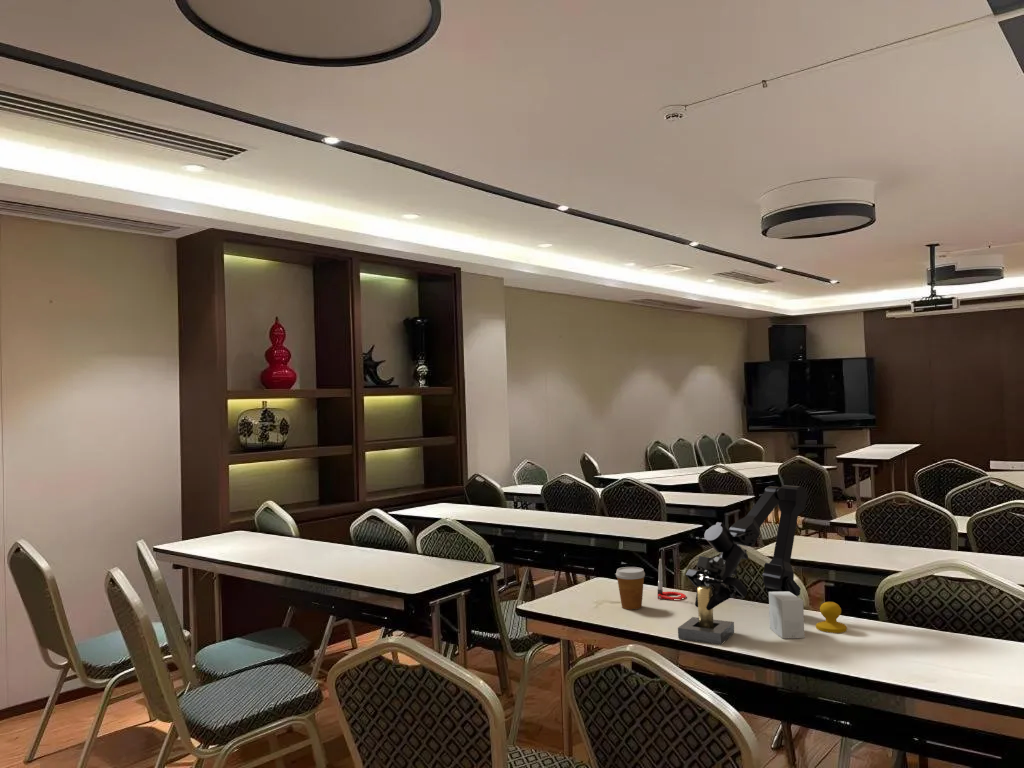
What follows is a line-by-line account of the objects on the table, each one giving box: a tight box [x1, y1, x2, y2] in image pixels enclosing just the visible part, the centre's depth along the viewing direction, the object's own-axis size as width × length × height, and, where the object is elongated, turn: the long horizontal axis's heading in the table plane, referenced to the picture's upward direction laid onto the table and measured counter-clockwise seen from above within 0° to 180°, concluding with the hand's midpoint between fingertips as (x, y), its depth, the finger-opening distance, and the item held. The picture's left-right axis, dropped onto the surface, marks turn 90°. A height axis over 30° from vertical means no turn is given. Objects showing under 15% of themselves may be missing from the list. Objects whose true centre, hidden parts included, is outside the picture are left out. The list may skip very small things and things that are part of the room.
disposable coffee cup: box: [615, 566, 646, 611], centre depth 245 cm, size 10×10×12 cm
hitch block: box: [677, 616, 735, 646], centre depth 212 cm, size 12×12×3 cm
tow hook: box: [657, 558, 687, 601], centre depth 255 cm, size 8×13×9 cm
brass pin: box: [696, 585, 714, 629], centre depth 212 cm, size 4×4×12 cm
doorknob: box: [815, 601, 848, 634], centre depth 214 cm, size 8×8×8 cm
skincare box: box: [768, 592, 805, 640], centre depth 212 cm, size 10×6×10 cm, turn 0°
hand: (701, 607), depth 211 cm, fingers closed on brass pin, 4 cm apart
